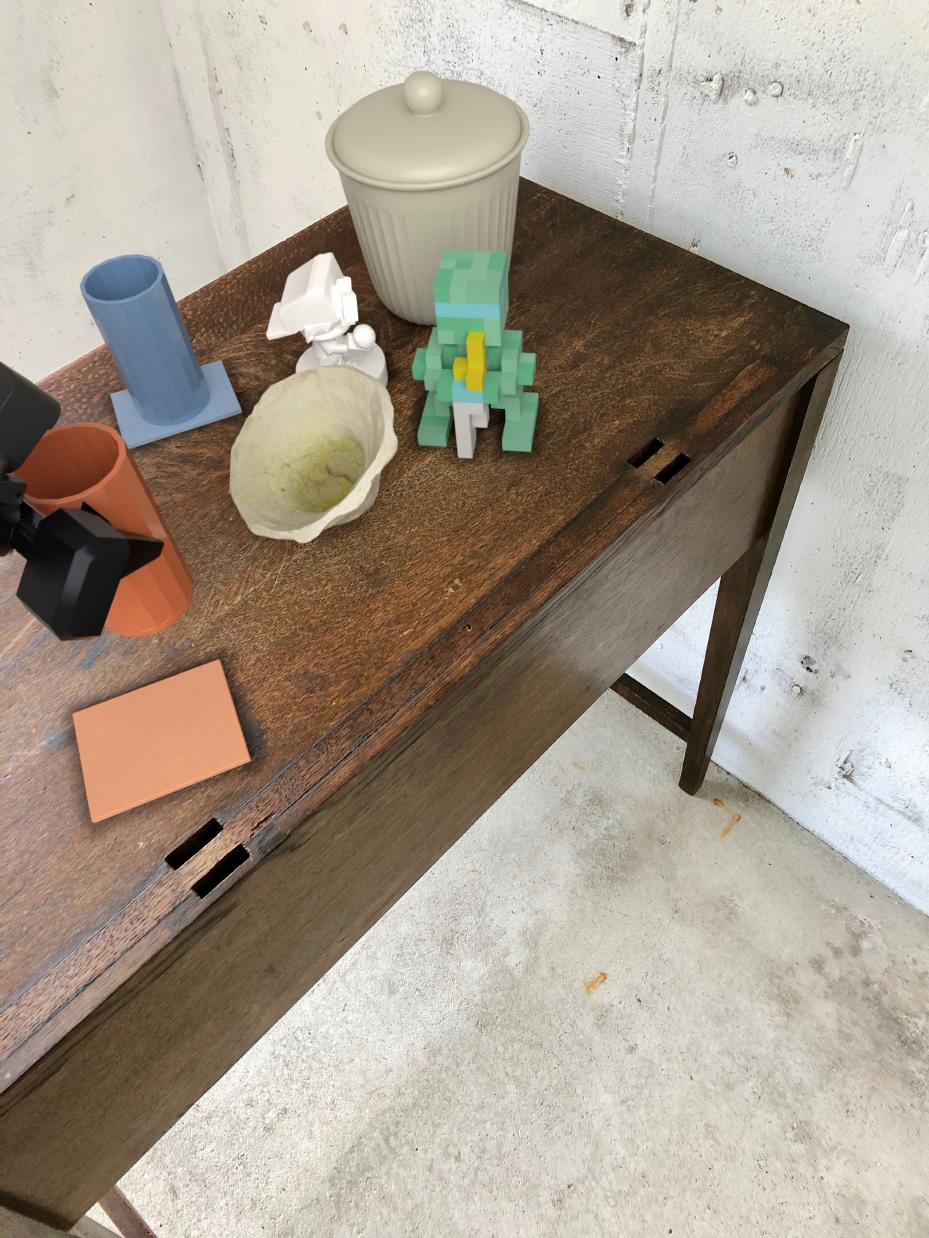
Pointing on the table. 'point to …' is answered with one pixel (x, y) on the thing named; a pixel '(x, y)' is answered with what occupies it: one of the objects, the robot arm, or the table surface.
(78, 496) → the terracotta cup
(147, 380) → the blue cup
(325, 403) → the bowl
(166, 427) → the blue mat
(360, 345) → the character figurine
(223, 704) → the peach mat
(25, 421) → the robot arm
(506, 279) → the toy
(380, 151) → the canister
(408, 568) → the table surface
